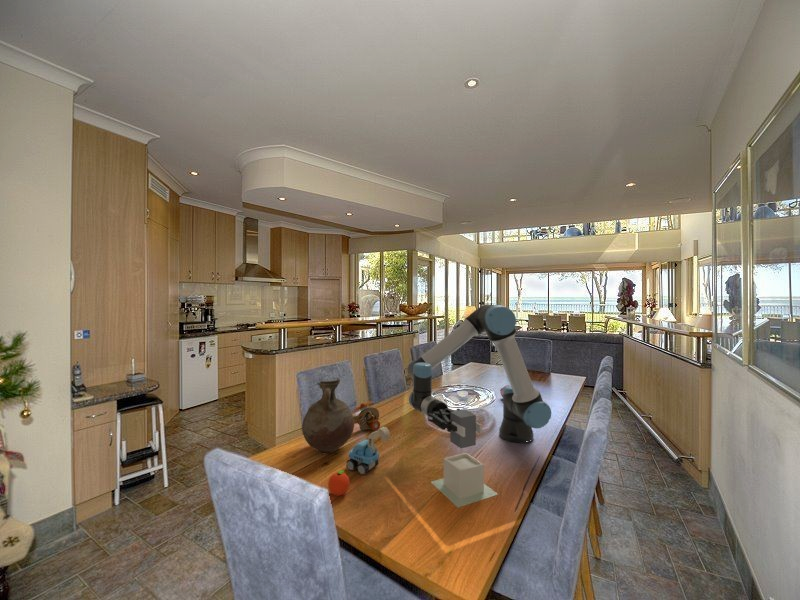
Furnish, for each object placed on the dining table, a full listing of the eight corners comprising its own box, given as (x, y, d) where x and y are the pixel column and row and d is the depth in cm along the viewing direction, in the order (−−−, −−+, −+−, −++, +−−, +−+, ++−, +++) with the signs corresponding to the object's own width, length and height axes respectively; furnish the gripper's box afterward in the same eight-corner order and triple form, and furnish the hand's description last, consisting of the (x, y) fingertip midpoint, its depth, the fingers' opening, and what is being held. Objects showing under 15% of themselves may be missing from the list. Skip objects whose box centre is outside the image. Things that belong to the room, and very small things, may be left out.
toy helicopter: (382, 429, 168) (382, 401, 168) (342, 438, 157) (342, 408, 157) (374, 424, 175) (374, 397, 175) (336, 432, 164) (335, 403, 164)
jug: (348, 435, 160) (348, 371, 160) (359, 456, 140) (359, 382, 140) (300, 442, 153) (300, 375, 152) (304, 465, 132) (304, 387, 132)
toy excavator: (380, 482, 121) (380, 433, 120) (344, 469, 130) (344, 424, 129) (393, 471, 128) (393, 425, 128) (358, 460, 137) (358, 417, 137)
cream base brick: (466, 477, 122) (466, 452, 122) (483, 491, 113) (484, 464, 113) (443, 484, 118) (443, 458, 117) (460, 499, 109) (460, 470, 109)
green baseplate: (467, 474, 126) (467, 471, 126) (498, 497, 112) (498, 494, 112) (430, 484, 119) (430, 481, 119) (457, 510, 105) (457, 507, 105)
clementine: (337, 484, 119) (337, 464, 119) (355, 489, 116) (355, 468, 116) (323, 497, 112) (323, 475, 112) (342, 502, 109) (342, 479, 109)
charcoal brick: (464, 438, 119) (465, 409, 119) (475, 445, 114) (475, 415, 114) (450, 441, 117) (450, 412, 117) (460, 448, 111) (461, 417, 111)
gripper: (455, 415, 136) (495, 437, 115) (412, 422, 127) (447, 448, 107) (455, 396, 136) (495, 414, 115) (412, 402, 127) (448, 423, 106)
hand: (472, 430), depth 111 cm, fingers closed on charcoal brick, 6 cm apart
